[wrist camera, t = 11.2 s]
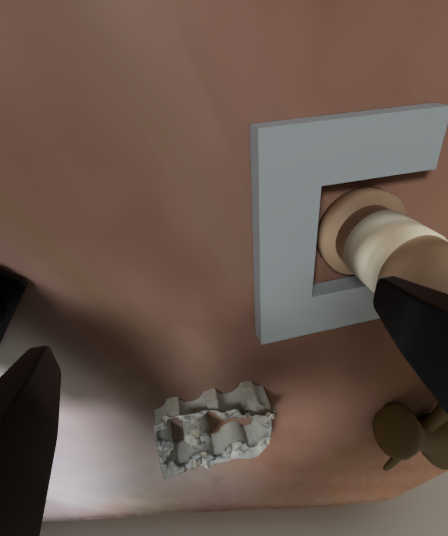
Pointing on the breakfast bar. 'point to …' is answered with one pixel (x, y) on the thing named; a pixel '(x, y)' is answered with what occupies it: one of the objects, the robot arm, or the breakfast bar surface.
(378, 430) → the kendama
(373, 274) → the bobbin
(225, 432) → the egg carton
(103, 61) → the breakfast bar surface
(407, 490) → the breakfast bar surface
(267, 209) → the notched board
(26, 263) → the breakfast bar surface
